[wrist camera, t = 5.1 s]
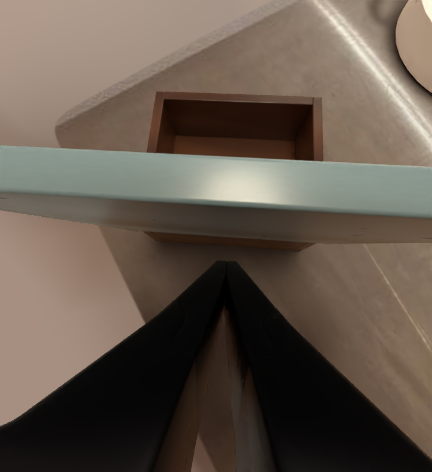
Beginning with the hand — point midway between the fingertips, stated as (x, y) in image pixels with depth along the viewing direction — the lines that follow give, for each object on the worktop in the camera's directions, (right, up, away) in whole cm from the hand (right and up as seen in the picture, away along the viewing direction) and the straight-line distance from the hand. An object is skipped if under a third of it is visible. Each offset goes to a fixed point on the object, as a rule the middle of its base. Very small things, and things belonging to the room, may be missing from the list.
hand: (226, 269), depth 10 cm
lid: (0, +2, +1) cm, 3 cm away
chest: (+1, +7, +14) cm, 16 cm away
